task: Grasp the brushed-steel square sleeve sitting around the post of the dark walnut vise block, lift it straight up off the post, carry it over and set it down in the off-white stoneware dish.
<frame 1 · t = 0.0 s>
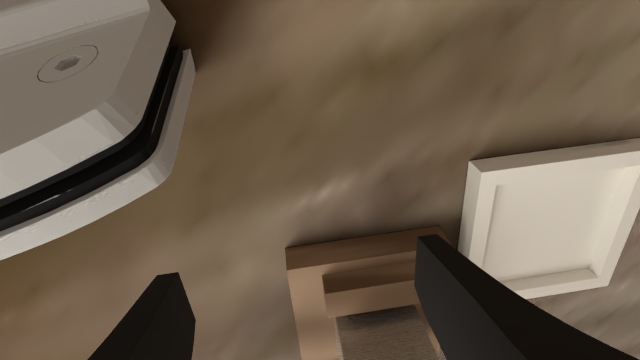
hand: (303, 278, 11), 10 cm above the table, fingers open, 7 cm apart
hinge: (23, 96, 18), on the table
dish: (538, 222, 25), on the table
vise block: (365, 302, 27), on the table
sleeve: (372, 325, 25), point 2 cm above the table, touching vise block
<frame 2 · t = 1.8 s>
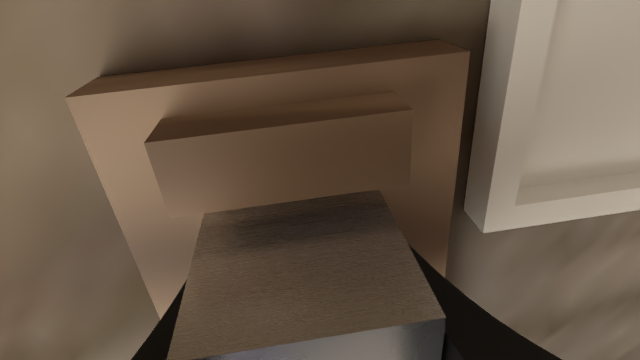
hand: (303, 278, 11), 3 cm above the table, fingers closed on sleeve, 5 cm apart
vise block: (296, 223, 14), on the table
sleeve: (301, 259, 12), point 2 cm above the table, touching gripper, vise block
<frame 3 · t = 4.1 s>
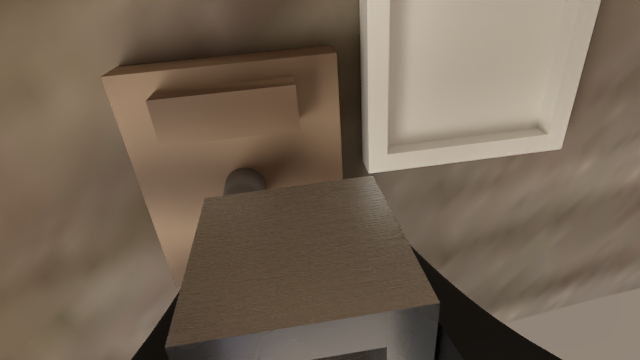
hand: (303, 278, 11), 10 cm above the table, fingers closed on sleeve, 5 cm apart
dish: (466, 52, 19), on the table
vise block: (247, 167, 21), on the table
sleeve: (299, 251, 12), point 9 cm above the table, touching gripper
when the fingers open (3 cm above the table, at t = 6.6 s): sleeve drops 1 cm, resting on dish.
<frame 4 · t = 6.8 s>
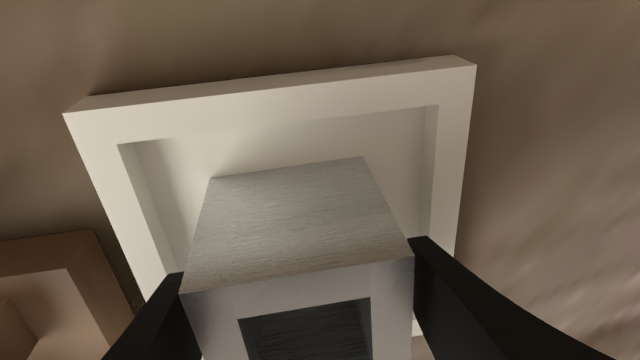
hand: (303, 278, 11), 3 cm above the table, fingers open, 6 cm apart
dish: (296, 223, 14), on the table
sleeve: (296, 228, 13), resting on dish
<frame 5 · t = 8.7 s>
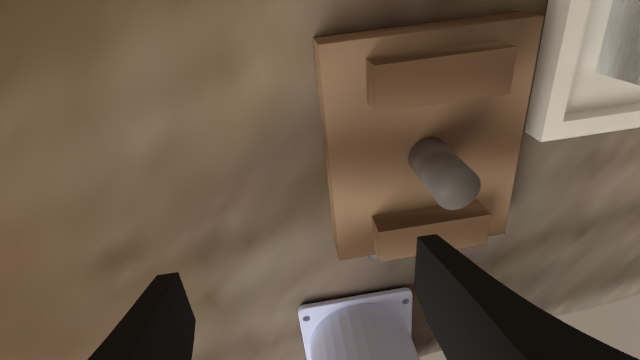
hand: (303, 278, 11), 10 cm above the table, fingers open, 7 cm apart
vise block: (413, 139, 21), on the table
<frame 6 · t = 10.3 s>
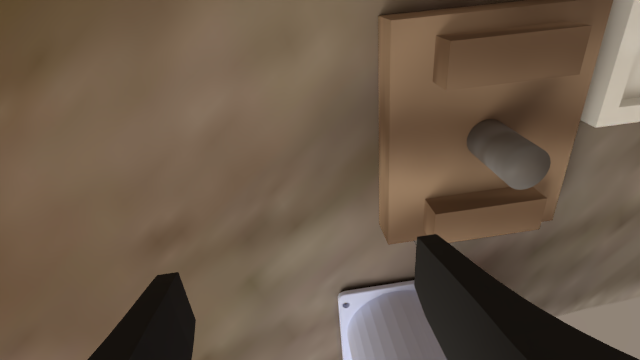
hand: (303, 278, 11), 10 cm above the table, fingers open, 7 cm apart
vise block: (467, 123, 21), on the table
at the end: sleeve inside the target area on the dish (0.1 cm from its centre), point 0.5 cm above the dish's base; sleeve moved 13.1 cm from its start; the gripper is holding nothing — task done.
